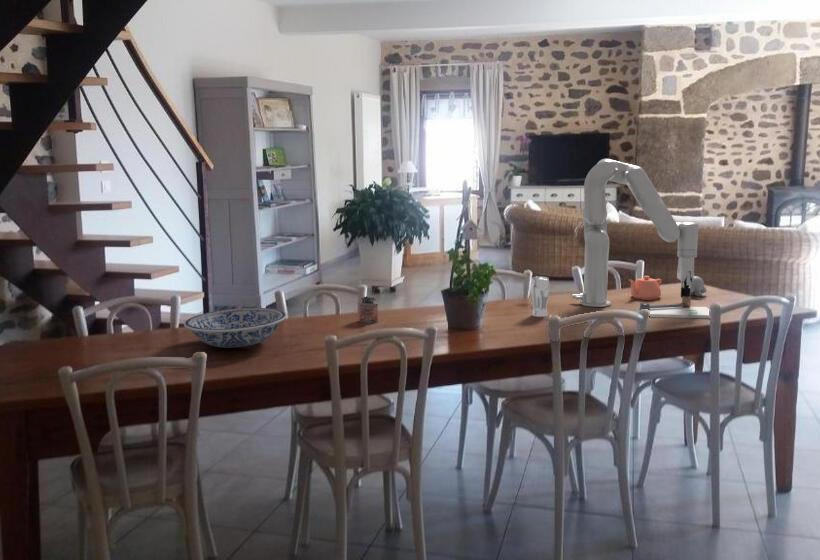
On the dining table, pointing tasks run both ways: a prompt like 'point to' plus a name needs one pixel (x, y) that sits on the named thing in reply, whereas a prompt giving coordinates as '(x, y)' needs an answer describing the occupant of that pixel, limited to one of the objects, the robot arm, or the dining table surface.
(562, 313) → the dining table surface
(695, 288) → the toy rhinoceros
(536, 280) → the beer glass
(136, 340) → the dining table surface
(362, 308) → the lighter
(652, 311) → the tuner dial board
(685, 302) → the tuning lever
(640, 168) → the robot arm
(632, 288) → the teapot
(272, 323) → the ceramic bowl
